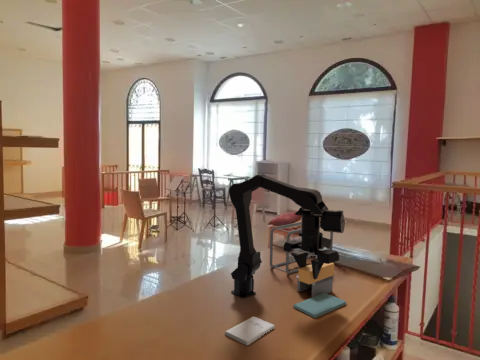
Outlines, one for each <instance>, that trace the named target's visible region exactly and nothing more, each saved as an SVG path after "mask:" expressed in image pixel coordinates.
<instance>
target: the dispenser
mask: <svg viewBox="0 0 480 360" xmlns="http://www.w3.org/2000/svg"><path fill="white" fill-rule="evenodd" d="M295 277H296V279H297V281H296V282H297V284H296V286H297V287H296V292H298V291H299V293H301V292H303V291H306V290H309V289H311V298H312V297H315V296H317V295H320V294H322V293H327V294H329V293H331V292H333V285H334V284H333V283H334V275H333V276H330V277H327V278H325V279H322V280H320V281H317V282H314V283H312V284H306V283H304V282H301V281H298V280H299V274H297V275H296V276H295Z"/></svg>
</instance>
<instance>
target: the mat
mask: <svg viewBox="0 0 480 360" xmlns="http://www.w3.org/2000/svg"><path fill="white" fill-rule="evenodd" d="M345 305H347V301H346V300H344V299H341V298H339V297H336V296H334V295H332V294H329V293H322V294H320V295H317V296H315V297H312V296H311V297H310V298H308V299H304V300H303V301H300V302H297V303H294V304H293V308H294V309H295V310H298V311H300V312H302V313H304V314H306V315H308V316H310V317H312V318H314V319H316V318H318V317H321V316H323V315H326V314H328V313H330V312H332V311H334V310H337V309H338V308H341V307H343V306H345Z"/></svg>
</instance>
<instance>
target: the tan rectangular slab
mask: <svg viewBox="0 0 480 360" xmlns="http://www.w3.org/2000/svg"><path fill="white" fill-rule="evenodd" d="M298 268H299V267H298ZM298 275H299V280H298V281H301V282H304V283H306V284H312V283H314V282H317V281H320V280H322V279H325V278H327V277H330V276H333V277H334V276H335V262H333V263H329V264H325V263H324V264H323V266H322V268H321V270H320V272H319V275H318V277H317V279H314V277H313V272H312V264H308V265H306V266H305V267H302V268H299V271H298Z"/></svg>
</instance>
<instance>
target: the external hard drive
mask: <svg viewBox="0 0 480 360" xmlns="http://www.w3.org/2000/svg"><path fill="white" fill-rule="evenodd" d="M272 329H273V330H274V329H275V324H273V323H271V322H268V321H265V319H264V320H263V319H261V318H259V317H256V316H251V317H250V318H247V319H246V320H244V321H242V322H241V323H239V324H236V325H235V326H233V327H231V328H229V329H227V330H225V332H224V335H225V336H227V337H229V338H230V339H233V340H235V341H237V342H240V343H241V344H243V345H245V346H249V345H251V344H252V343H253V342H255V341H257V340H258V338H259V339H260V338H262V337H263V336H265V335H266V334H268V333H270V332H271V331H272ZM270 330H271V331H270ZM267 332H268V333H267ZM265 333H266V334H265ZM264 334H265V335H264ZM262 335H263V336H262ZM261 336H262V337H261Z"/></svg>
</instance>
